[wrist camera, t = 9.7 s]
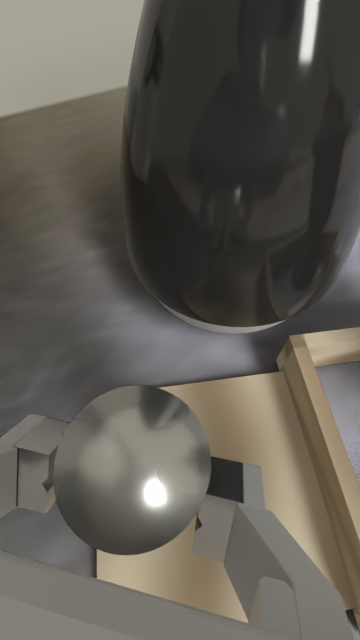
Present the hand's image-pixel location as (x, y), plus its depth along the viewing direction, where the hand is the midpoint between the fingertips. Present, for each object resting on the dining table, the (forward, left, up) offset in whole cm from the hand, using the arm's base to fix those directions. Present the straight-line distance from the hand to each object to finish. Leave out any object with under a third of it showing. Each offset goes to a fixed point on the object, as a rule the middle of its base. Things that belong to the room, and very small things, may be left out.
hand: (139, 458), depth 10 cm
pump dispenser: (+5, +10, -5) cm, 12 cm away
